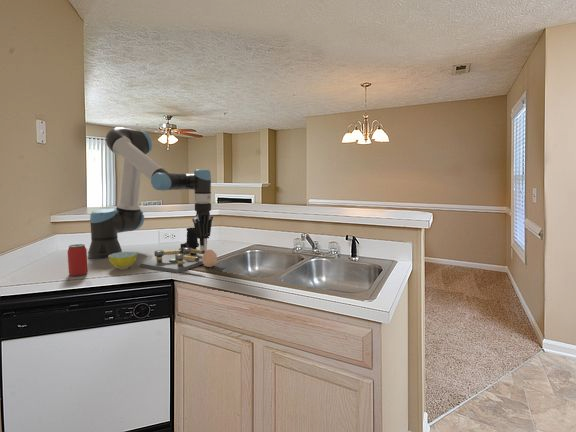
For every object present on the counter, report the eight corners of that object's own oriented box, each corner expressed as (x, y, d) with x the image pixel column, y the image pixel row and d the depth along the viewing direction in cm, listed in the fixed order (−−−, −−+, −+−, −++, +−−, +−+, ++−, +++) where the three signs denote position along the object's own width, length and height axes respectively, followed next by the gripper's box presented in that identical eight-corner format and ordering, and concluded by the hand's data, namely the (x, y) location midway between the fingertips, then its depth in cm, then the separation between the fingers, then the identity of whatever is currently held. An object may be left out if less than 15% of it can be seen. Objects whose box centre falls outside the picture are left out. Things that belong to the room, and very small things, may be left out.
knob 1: (181, 258, 160) (181, 248, 159) (187, 256, 164) (187, 247, 163) (202, 261, 155) (202, 251, 155) (207, 259, 159) (207, 249, 158)
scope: (187, 226, 181) (203, 227, 177) (188, 251, 182) (203, 253, 178) (177, 228, 173) (193, 229, 169) (178, 254, 175) (193, 256, 171)
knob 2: (173, 265, 147) (173, 255, 146) (179, 263, 150) (179, 253, 150) (196, 269, 142) (195, 258, 141) (202, 266, 145) (201, 256, 145)
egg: (220, 267, 152) (219, 249, 151) (207, 269, 148) (206, 252, 147) (212, 264, 157) (212, 247, 156) (199, 266, 153) (199, 249, 152)
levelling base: (139, 266, 151) (139, 261, 151) (171, 257, 169) (171, 252, 169) (177, 272, 142) (177, 267, 142) (207, 262, 160) (207, 257, 160)
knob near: (154, 262, 151) (154, 252, 151) (154, 260, 155) (154, 250, 154) (183, 260, 155) (182, 250, 155) (182, 258, 159) (182, 248, 159)
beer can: (91, 272, 142) (89, 243, 140) (82, 276, 135) (80, 247, 134) (75, 271, 141) (73, 243, 140) (65, 276, 135) (63, 247, 133)
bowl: (106, 272, 141) (105, 258, 140) (112, 265, 152) (111, 252, 151) (135, 271, 144) (134, 256, 143) (139, 264, 155) (138, 251, 154)
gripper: (200, 203, 150) (201, 255, 153) (217, 202, 162) (218, 250, 165) (187, 203, 153) (188, 253, 156) (205, 201, 165) (205, 248, 168)
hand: (203, 251), depth 161 cm, fingers closed
